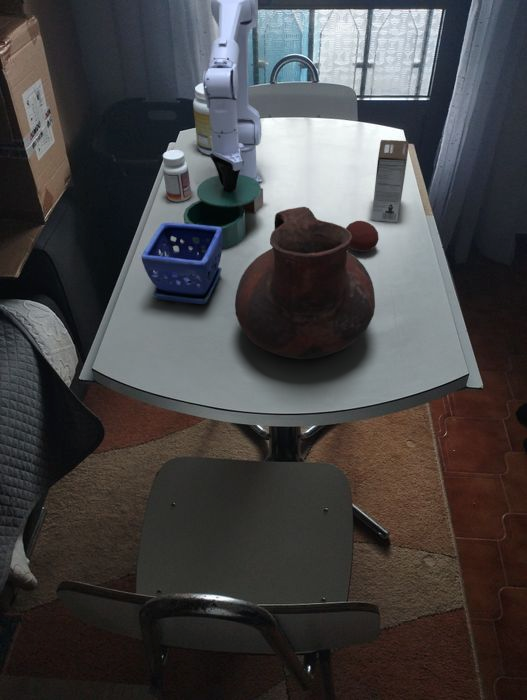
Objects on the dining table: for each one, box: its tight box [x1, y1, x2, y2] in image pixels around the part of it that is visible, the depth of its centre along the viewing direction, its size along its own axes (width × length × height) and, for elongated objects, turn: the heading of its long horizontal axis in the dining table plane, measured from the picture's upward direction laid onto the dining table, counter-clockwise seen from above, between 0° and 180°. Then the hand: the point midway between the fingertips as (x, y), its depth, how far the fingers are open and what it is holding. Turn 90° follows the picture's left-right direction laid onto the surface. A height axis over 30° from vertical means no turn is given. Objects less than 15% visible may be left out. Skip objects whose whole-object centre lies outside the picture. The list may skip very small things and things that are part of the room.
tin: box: [183, 199, 247, 251], centre depth 137 cm, size 14×14×6 cm
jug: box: [234, 206, 376, 360], centre depth 104 cm, size 25×25×25 cm
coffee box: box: [371, 139, 410, 223], centre depth 138 cm, size 9×6×16 cm
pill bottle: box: [162, 149, 192, 203], centre depth 148 cm, size 6×6×11 cm
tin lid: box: [196, 175, 262, 207], centre depth 135 cm, size 15×15×5 cm
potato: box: [346, 220, 380, 252], centre depth 131 cm, size 7×8×6 cm
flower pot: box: [141, 222, 223, 305], centre depth 120 cm, size 13×13×12 cm
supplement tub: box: [192, 82, 212, 156], centre depth 166 cm, size 12×12×17 cm
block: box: [242, 187, 264, 214], centre depth 146 cm, size 4×4×4 cm
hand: (228, 186), depth 136 cm, fingers closed on tin lid, 2 cm apart
